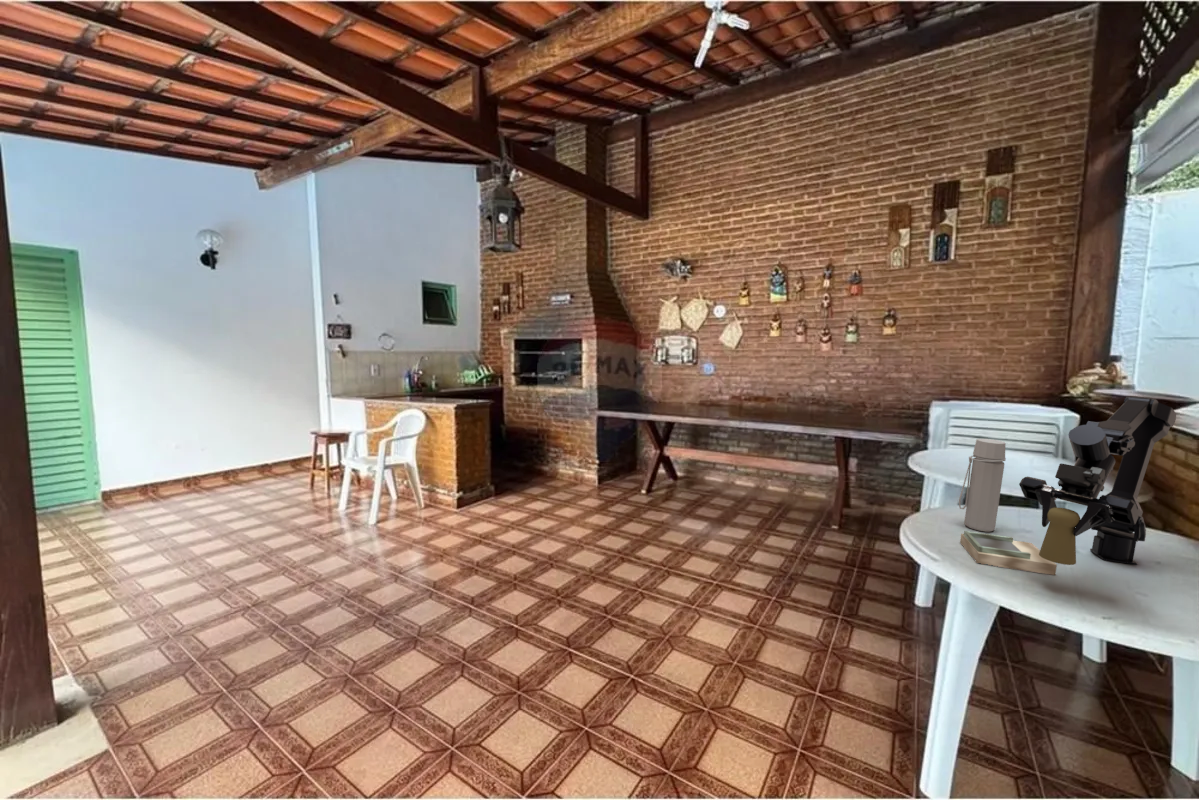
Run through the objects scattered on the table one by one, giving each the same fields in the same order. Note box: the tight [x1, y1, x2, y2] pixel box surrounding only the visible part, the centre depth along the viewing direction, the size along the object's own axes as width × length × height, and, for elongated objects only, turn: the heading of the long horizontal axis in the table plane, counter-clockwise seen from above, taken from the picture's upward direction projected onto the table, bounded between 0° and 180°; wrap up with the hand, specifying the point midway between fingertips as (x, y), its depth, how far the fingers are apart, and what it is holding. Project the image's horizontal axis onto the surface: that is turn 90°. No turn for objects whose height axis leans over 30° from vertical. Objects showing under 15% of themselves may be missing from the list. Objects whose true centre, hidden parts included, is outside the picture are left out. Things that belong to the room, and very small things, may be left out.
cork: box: [1039, 506, 1081, 566], centre depth 110 cm, size 6×6×11 cm
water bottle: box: [958, 438, 1007, 533], centre depth 144 cm, size 9×8×25 cm
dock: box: [959, 530, 1058, 576], centre depth 126 cm, size 15×13×4 cm
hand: (1058, 530), depth 109 cm, fingers closed on cork, 5 cm apart
